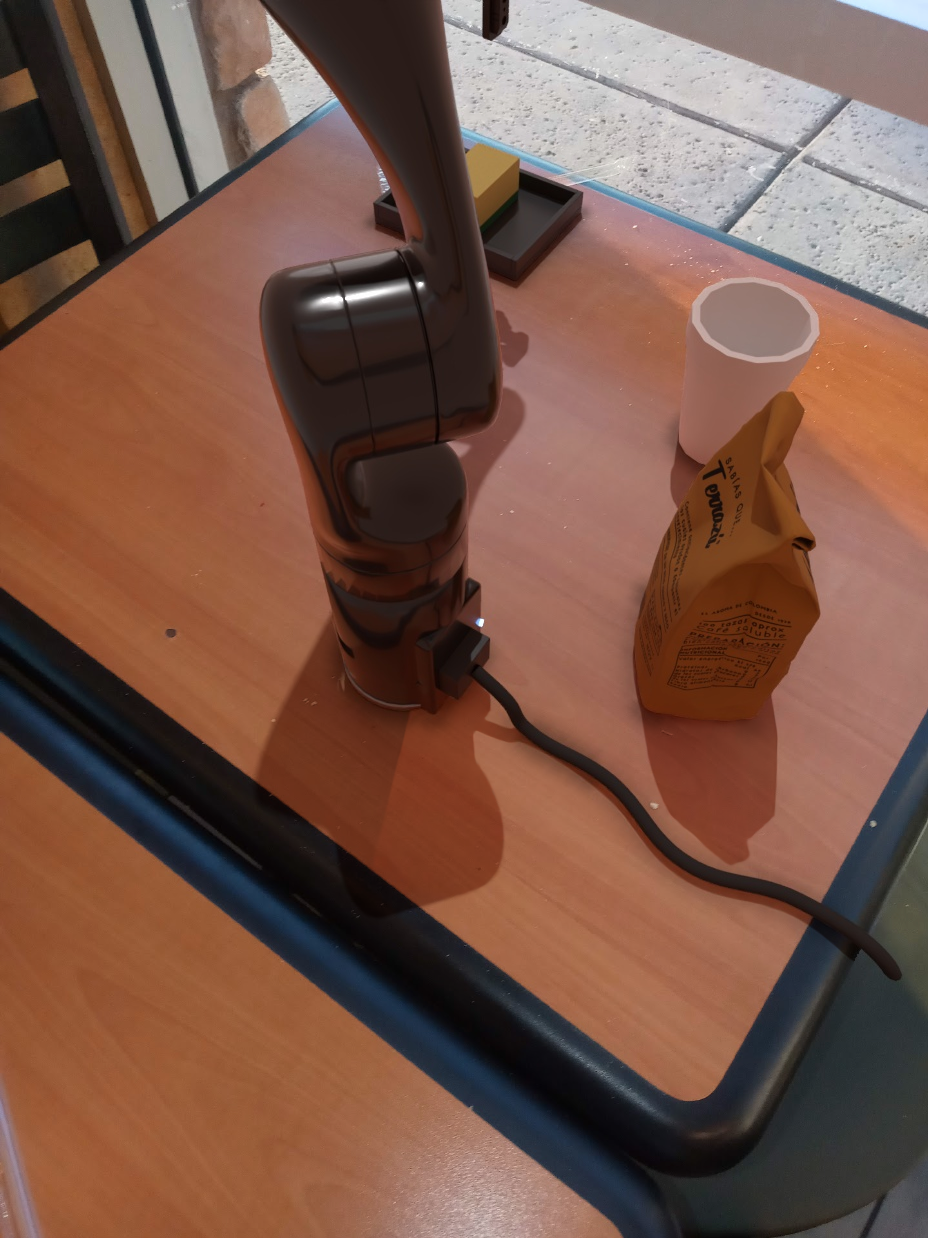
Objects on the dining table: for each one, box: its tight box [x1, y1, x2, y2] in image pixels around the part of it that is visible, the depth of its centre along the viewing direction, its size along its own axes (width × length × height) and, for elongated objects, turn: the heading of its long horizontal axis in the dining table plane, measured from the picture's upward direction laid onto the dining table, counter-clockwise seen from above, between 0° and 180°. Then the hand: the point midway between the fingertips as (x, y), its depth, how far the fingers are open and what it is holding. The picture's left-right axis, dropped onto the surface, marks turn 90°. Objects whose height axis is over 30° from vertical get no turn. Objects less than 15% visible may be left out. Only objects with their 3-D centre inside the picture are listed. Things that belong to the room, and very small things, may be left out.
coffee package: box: [633, 390, 821, 722], centre depth 58 cm, size 10×12×22 cm
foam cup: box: [678, 276, 821, 466], centre depth 73 cm, size 10×9×13 cm
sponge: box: [466, 142, 521, 234], centre depth 92 cm, size 8×5×4 cm, turn 147°
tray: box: [372, 146, 585, 282], centre depth 94 cm, size 17×13×2 cm
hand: (450, 21), depth 76 cm, fingers open, 8 cm apart
